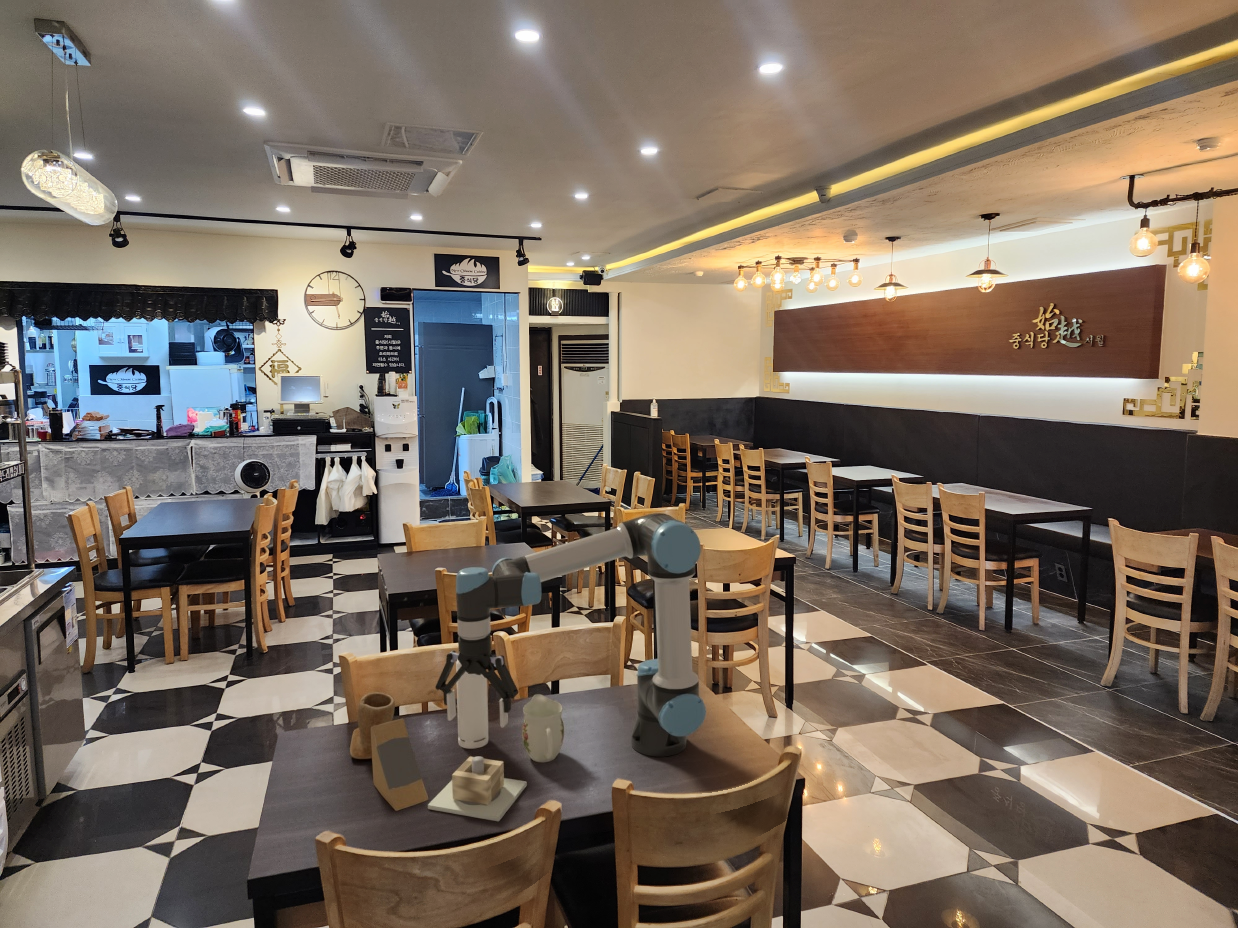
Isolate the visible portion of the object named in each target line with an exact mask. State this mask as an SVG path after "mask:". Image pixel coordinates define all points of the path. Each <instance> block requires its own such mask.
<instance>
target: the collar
mask: <svg viewBox="0 0 1238 928" xmlns="http://www.w3.org/2000/svg"><path fill="white" fill-rule="evenodd" d="M474 757H475V756H469V757H468V758H467V759H466V760H465V761H463V762H462V764H461V765H460V766H459V767H458V768H457V769H456V770H455V771H454V772H453V773H452V774H451V780H452V792H453V799H456V800H462V801H468V802H474V803H480V804H486V805H488V804H489V803H490V801H491V800H492V799H493V798H494V797H495V795H496V794H497V793H498V792H499V791H500V789H501V788H502V787H503V786H504V778H505V774H504V772H505V769H504V768H505V767H504V766H505V765H504V761H503V760H494V759H488V758H484V774H483V775H481V774H474V773H472V758H474Z"/></svg>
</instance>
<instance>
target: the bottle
mask: <svg viewBox="0 0 1238 928" xmlns="http://www.w3.org/2000/svg"><path fill="white" fill-rule="evenodd" d="M461 666H462V665H461V664H460V662H459V661H458V659H457V661H455V669H456V671H455V672H456V673H457V671H458V670H459V669H460V667H461ZM486 671H487V672H488V669H487V670H486ZM456 673H455V674H456ZM488 702H489V701H488V679H487V678H485V677H484V676H483V675H482V674H481V675H476V674H468V673H467V672H465V673H464V674H463V675H462V676H461V678H460V679H459V680H458V681H457V682H456V703H457V704H456V709H457V710H456V712H457V734H458V737H457V739H458V742H457V743H458V746H460V747H461V748H463V749H469V750H470V749H471V750H472V749H473V750H474V749H478V748H482V747H484V746H486V745H487V744H488V743H489V709H488V708H489V707H488V704H489V703H488Z"/></svg>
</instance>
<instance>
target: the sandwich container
mask: <svg viewBox="0 0 1238 928" xmlns="http://www.w3.org/2000/svg"><path fill="white" fill-rule="evenodd" d="M410 740H411V739H410V737H409V734H408V730H407V726H406V721H405V719H404V718H400V719H399V718H398V719H395V720H392V721H390V722H386V723H383V724H379V725H375V726H372V727H371V745H372V758H371V761H372V763H371V764H372V779H373V785H374V787H375V788H376V790H377V791H378V793H380V795H381V796H382V797H383V798H384V799H385V800H386V802H387V803H388V804H389V805H390V806H391V807H392V809H394V811H396V812H397V811H399V810H402V809H405V808H409V807H411V806H415V805H418V804H420V803H421V804H422V803H424V802H425V801H428V800H429V797H428V793H427V789H426V787H425V785H424V784H425V783H424V781H423V778H422V774H421V772H420V769H419V765H418V763H417V759H416V756H415V752H414V750H413V746H412V743H411V741H410Z"/></svg>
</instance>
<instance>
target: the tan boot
mask: <svg viewBox="0 0 1238 928" xmlns="http://www.w3.org/2000/svg"><path fill="white" fill-rule="evenodd" d="M395 704H396V702H395V699H394V698H393V697H392V696H391V695H390V694H387V693H384V692H378V691H377V692H370V693H367V694H365V695H363V696H362V697H361V698H360V700H359V702H358V704H357V706H358V707H357V719H356V720H357V725H358V727H356V728H355V729H354V730H353V732H352V736H351V741H350V747H349V752H350V756H351V757H352V758H353V759H356V760H357V759H358V760H370V759H372V745H371V727H372V726H375V725H379V724H383V723H386V722H390V721H393V718H394V716H395V706H396V705H395Z"/></svg>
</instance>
